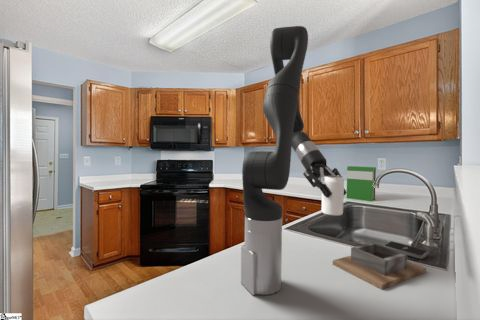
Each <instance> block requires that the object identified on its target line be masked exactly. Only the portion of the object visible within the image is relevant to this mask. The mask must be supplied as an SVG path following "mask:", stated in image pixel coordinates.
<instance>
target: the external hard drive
mask: <svg viewBox="0 0 480 320" xmlns="http://www.w3.org/2000/svg"><path fill="white" fill-rule="evenodd" d="M383 246H385V247H388V248H391V249H393V250H396V251H399V252H402V253H405V254H407V258H409V257H410V258H409V259H412V258H414V259H413V260H415V259H417V260H416V261H419V260H422V261H423V260H424V259H425V258H426V257H425V256H427V255H428V256H429V251H428V250H427V249H423V248H419V247H415V246H411V245H408V244H404V243H399V242H395V241H389V242H387V243H385V244H384V245H383ZM428 256H427V257H428Z"/></svg>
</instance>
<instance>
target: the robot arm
mask: <svg viewBox="0 0 480 320" xmlns="http://www.w3.org/2000/svg"><path fill="white" fill-rule="evenodd" d="M308 44H309V34H308V30H307V28H306V26H305V27H304V26H303V25H295V26H292V25H291V26H283V27H277V28H276V27H275V28H273V30H272V31H271V34H270V39H269V46H270V47H269V48H270V56H271V61H272V66H273V73H274V76H273V78H271V80H270V81H269V82H268V85H267V86H266V88H265V94H264V97H263V98H264V99H263V103H262V111H263V114H264V116H265V118H266V120H267V122H268V124H269V126H270V127H271V130H272V131H273V134H274V137H275V149H274V151H270V150H269V151H268V150H267V151H256V150H255V151H249V152H247V153H246V154H245V156H244V159H243V163H242V171H241V174H242V177H241V178H242V194H243V195H242V202H243V207H244V208H243V209H244V245H241V248H240V284H241V285H242V286H243V287H244V288H245V289H246V290H247V291H248V292H249V294H251V295H253V296H255V295H262V296H264V295H265V296H267V295H273V294H276V293H277V292H279V291H280V290H281V288H282V265H283V264H282V261H283V260H282V256H283V254H282V252H283V251H282V250H283V249H282V248H283V243H282V242H283V206H282V205H281V204H280V203H278V202H276V201H274V200H273V199H271V198H269V197H268V196H267V195H266V194H264V191H263V190H273V191H274V190H275V191H276V190H277V191H280V190H284V189H285V188H286V186H287V185H288V181H289V179H290V173H291V172H290V171H291V159H292V149H293V151H294V152H295V154H296V155H297V158H298V160H299V161H300V163H301V165H302V166H303V168H304V169H305V171H304V172H303V173H302V174H303V176H304V178H305V179H306V180H307V181H308V182H309V184H310V185H311V186H312V188H318V189H319V190H320V191H321V194H322V193H323V194H324V196H325V197H326V198H329V197H330V196H331V195H332V193H331V191H330V190H329V188H328V187H327V186H326V184H325V182H324V178H325V177H324V175H326V176H328V175H332V176H333V175H335V176H342V175H341V173H340V171H339V170H338V169H337V168H336V167H333V169H332V168H330V167H329V166H328V165H327V159H326V158H325V155H323V153H322V152H321V151H320V149H319V147H317V146H316V144H315V143H314V142H313V141H312V139H311V138H310V137H309V135H308V134H307V133H306V132H304V131H303V130H304V127H305V126H304V125H305V124H304V120H303V118H302V116H301V115H302V114H301V110H300V88H301V81H302V80H301V79H302V73H303V69H304V65H305V64H304V63H305V60H306V59H305V58H306V56H307V55H306V54H307V49H308V46H309V45H308ZM284 61H288V62H287V63H286V64H284ZM333 177H334V176H333ZM346 195H347V189H345V188H344V196H346ZM275 292H276V293H275Z"/></svg>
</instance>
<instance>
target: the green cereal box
mask: <svg viewBox="0 0 480 320" xmlns="http://www.w3.org/2000/svg"><path fill="white" fill-rule="evenodd" d="M346 167H347V169H346V199H352V200H359V201H366V202H373V201H376V187H375V188H374V187H373V186H372V185H373V183H374V181H375V182H376V180H375V179H376V178H377V177H376V173H377V169H376V168H377V167H374V166H346Z"/></svg>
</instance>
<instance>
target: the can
mask: <svg viewBox="0 0 480 320" xmlns="http://www.w3.org/2000/svg"><path fill="white" fill-rule="evenodd" d="M333 176H334V177H333ZM333 176H332V175H328V176H326V175H324V177H325V178H324V182H325V184H326V186H327V187H328V188H329V190H330V191H331V193H332V195H331V196H330V197H329V198H326V197H325V196H324V194H323V193H322V192H321V213H322V214H324V215H326V216H332V217H338V216H339V217H340V216H342V215H343V213H344V197H345V195H344V189H345V180H344V178H343V177H344V176H343V175H341V176H335V175H333Z"/></svg>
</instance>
